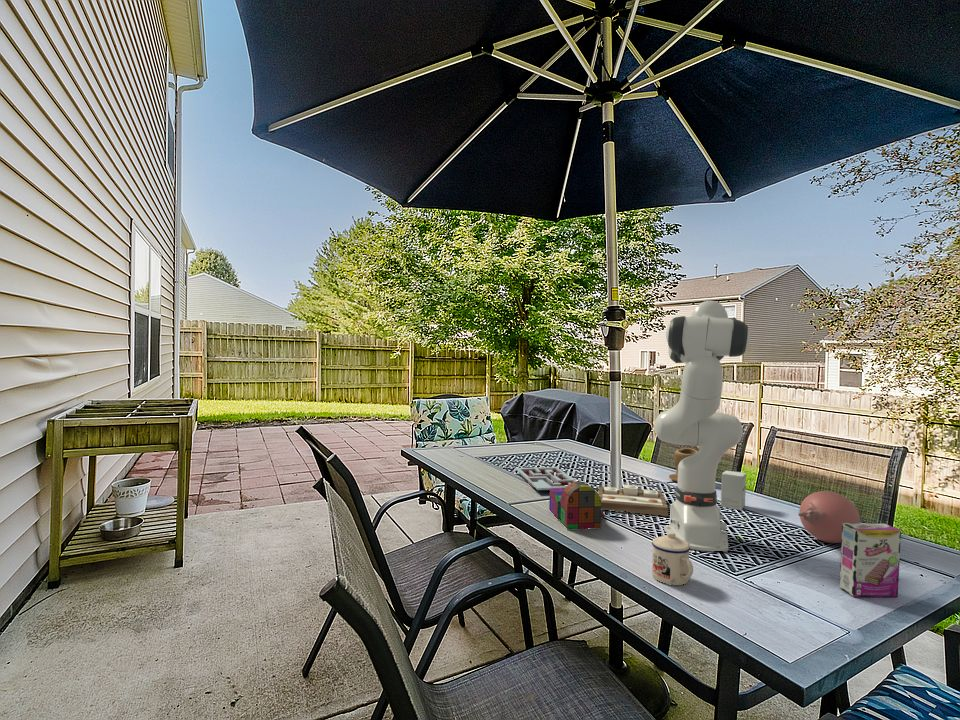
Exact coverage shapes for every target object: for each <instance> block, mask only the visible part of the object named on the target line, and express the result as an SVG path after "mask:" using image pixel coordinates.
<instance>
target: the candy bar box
mask: <svg viewBox="0 0 960 720" xmlns="http://www.w3.org/2000/svg"><path fill="white" fill-rule="evenodd" d="M901 535H902V530H900V528H897V527H894V526H891V525H889V524H886V523H866V522H865V523H861V522H860V523H842V541H841V543H840V544H841V545H840V569H839V571H840V572H839V589H840V590H842V591H844V592H845V593H847V594H848V595H849V596H851V597H853V598H898V596H899V583H900V582H899V580H900V579H899V577H900V573H899V572H900V557H901V540H902V538H901V537H902V536H901Z"/></svg>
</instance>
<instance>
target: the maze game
mask: <svg viewBox="0 0 960 720" xmlns="http://www.w3.org/2000/svg"><path fill="white" fill-rule="evenodd" d="M516 471H517V472H518V473H519V476H521V478H523V479H524V481H526V482H527V485H528V484H529V485H530V486H531V487H532V488H533V489H536V490H537V491H548V490H549V491H550V489H551V488H566V487H567V486H561V485H569V484H571V483H572V482H577V480H576V479H574V478H573V477H571V476H570V475H568V474H567V473H566V472H565V471H563V470H561V469H560V468H559V467H557V466H548V467H547V466H546V467H543V466H542V467H516ZM554 472H556V473H557V476H554ZM542 473H545V474H542ZM561 479H563V480H561ZM551 480H552V481H553V482H554V483H553V482H552V481H551ZM529 485H528V486H529ZM530 486H529V487H530ZM531 487H530V488H531ZM532 488H531V489H532ZM549 491H548V492H549Z"/></svg>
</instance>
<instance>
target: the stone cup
mask: <svg viewBox="0 0 960 720" xmlns="http://www.w3.org/2000/svg"><path fill="white" fill-rule="evenodd" d="M698 451H699V450H696V449H695V448H690V447H682V448H678V449H676V450H675V452H674V455H673V456H674V457H673V458H674V459H673V461H674V465H675V469H676V472H675V473H672V474H669V475H668V478H669V479H671V480H672V481H674V482H677V483H678V465H679V463H680V461H681V460H683V459H684V458H686V457H689V456H691V455H694V454H696V453H697V452H698Z"/></svg>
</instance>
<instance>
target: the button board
mask: <svg viewBox="0 0 960 720" xmlns="http://www.w3.org/2000/svg"><path fill="white" fill-rule="evenodd" d="M604 487H605V486H599V487H598V494H599V496H600V498H601V509H602V510H614V511H626V512H632V513H631V514H634V513H640V514H639V515H645V514H652V515H651V516H657V515H662V516H661V517H669V507H668V504H667V501H666V498H665V497H664V495H663V492H662V491H659V490H656V491H657V492H658V497H648V496H643V492H644V490H645V489H638V496H635V495H624V487H623V488H622V489H621V490H617V494H610V493H604Z"/></svg>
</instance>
